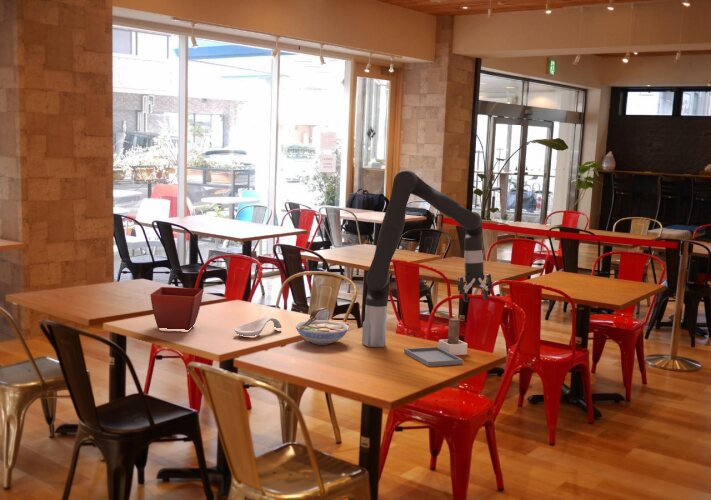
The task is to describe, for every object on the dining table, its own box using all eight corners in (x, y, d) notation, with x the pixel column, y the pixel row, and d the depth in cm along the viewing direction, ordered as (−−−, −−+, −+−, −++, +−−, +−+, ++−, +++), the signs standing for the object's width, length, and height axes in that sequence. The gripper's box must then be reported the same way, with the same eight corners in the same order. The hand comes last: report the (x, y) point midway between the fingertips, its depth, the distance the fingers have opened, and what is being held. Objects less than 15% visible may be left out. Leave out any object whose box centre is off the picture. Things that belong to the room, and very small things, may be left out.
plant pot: (193, 335, 343) (194, 296, 341) (149, 333, 343) (149, 294, 341) (203, 325, 362) (203, 288, 360) (160, 323, 362) (161, 286, 360)
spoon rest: (247, 341, 337) (248, 325, 336) (228, 336, 344) (229, 320, 343) (287, 333, 355) (287, 317, 354) (268, 329, 362) (269, 313, 361)
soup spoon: (324, 322, 380) (325, 305, 379) (330, 323, 379) (331, 305, 378) (308, 328, 367) (309, 309, 366) (314, 329, 366) (315, 310, 365)
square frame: (448, 355, 328) (449, 344, 327) (438, 350, 336) (438, 339, 335) (466, 354, 331) (467, 343, 331) (456, 349, 339) (456, 338, 338)
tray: (428, 366, 309) (428, 361, 309) (404, 352, 329) (404, 348, 328) (462, 364, 315) (462, 359, 315) (436, 350, 335) (437, 346, 334)
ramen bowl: (341, 352, 325) (342, 332, 324) (287, 347, 329) (287, 327, 328) (353, 338, 349) (354, 320, 348) (303, 334, 354) (303, 316, 353)
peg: (450, 353, 331) (453, 320, 330) (447, 351, 334) (449, 318, 333) (457, 353, 333) (459, 320, 331) (453, 351, 335) (455, 318, 334)
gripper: (485, 259, 332) (486, 297, 333) (453, 262, 327) (455, 301, 329) (493, 260, 325) (495, 300, 326) (461, 263, 320) (463, 303, 322)
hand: (475, 300), depth 327 cm, fingers open, 8 cm apart
